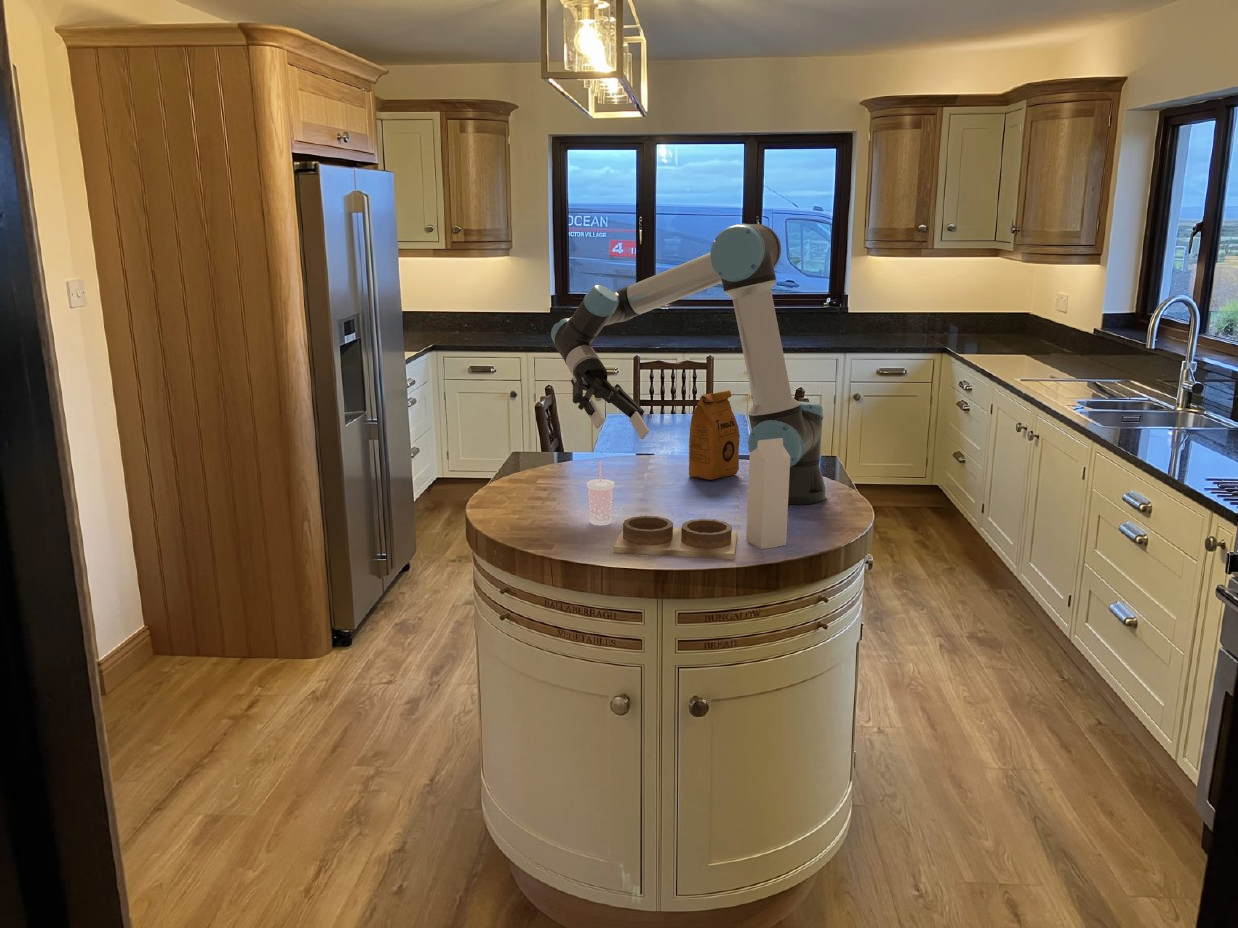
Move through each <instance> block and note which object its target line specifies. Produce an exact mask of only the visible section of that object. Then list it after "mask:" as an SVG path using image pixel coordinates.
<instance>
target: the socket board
mask: <svg viewBox="0 0 1238 928" xmlns="http://www.w3.org/2000/svg"><path fill="white" fill-rule="evenodd" d="M681 525H682V526H681V528H680V527H679V528H678V527H674V522H673V521H671V520H670V519H669V518H666V517H661V516H653V515H642V516H641V515H640V516H633V517H630V518H627V519H625V520H624V522H623V523H622V529H621V531H620V533H619V535H618V537H617V539H616V541H615V542H614V546H613V553H618V554H633V555H635V554H636V555H650V556H651V555H653V556H654V555H655V556H670V557H687V558H700V559H701V558H702V559H703V558H704V559H718V560H720V559H721V560H735V557H736V549H737V541H738V531H735V530H732V529H733V526H732V525H731V524H729V523H728V522H727V521H723V520H718V519H715V518H714V519H712V518H698V519H690V520H687V521H685V522H682V524H681Z"/></svg>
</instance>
